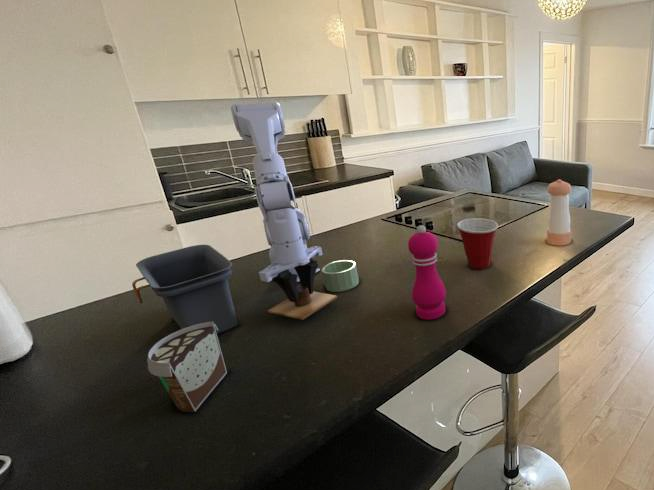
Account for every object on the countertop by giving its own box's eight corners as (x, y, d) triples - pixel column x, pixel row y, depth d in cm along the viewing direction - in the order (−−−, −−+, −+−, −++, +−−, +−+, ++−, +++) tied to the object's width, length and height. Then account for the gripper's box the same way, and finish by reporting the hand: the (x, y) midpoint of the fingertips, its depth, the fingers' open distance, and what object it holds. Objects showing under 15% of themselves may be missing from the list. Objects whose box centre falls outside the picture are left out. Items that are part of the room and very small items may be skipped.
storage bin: (256, 325, 87) (237, 264, 82) (167, 361, 76) (138, 294, 71) (224, 296, 100) (206, 242, 95) (145, 323, 90) (119, 264, 84)
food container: (196, 370, 73) (177, 322, 70) (231, 367, 74) (214, 319, 70) (146, 422, 62) (121, 369, 58) (189, 418, 62) (166, 365, 59)
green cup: (318, 289, 102) (314, 271, 100) (341, 275, 108) (337, 258, 107) (344, 293, 99) (340, 275, 97) (365, 279, 106) (362, 262, 104)
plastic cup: (495, 274, 105) (493, 230, 101) (455, 272, 107) (451, 229, 103) (503, 257, 115) (502, 217, 110) (466, 256, 117) (463, 216, 113)
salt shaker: (574, 239, 126) (576, 178, 119) (564, 247, 120) (565, 183, 113) (553, 235, 130) (553, 176, 123) (542, 243, 124) (542, 181, 117)
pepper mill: (453, 306, 91) (445, 221, 83) (438, 323, 85) (428, 232, 77) (424, 302, 93) (414, 218, 86) (408, 318, 87) (395, 230, 79)
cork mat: (267, 312, 88) (263, 295, 86) (304, 291, 96) (300, 276, 95) (302, 320, 84) (298, 303, 83) (337, 297, 93) (334, 281, 91)
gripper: (271, 254, 77) (288, 316, 82) (327, 229, 89) (339, 285, 94) (244, 250, 79) (262, 311, 84) (303, 226, 92) (315, 280, 97)
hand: (301, 297), depth 89 cm, fingers closed on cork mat, 3 cm apart
